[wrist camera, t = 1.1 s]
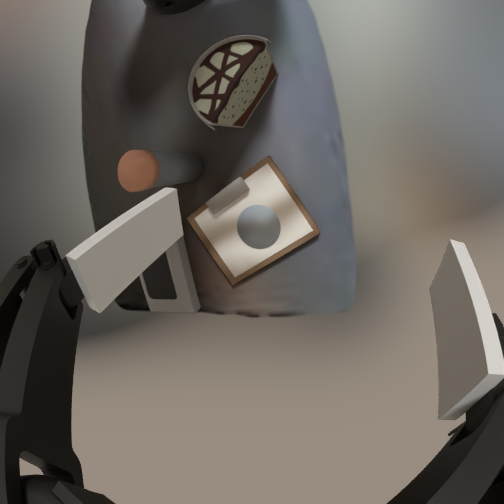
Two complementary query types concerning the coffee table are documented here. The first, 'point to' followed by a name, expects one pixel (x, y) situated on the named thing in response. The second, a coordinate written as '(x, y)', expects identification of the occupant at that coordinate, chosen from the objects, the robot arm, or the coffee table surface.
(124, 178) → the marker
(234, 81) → the food container
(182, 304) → the grey framed panel
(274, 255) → the clipboard
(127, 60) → the coffee table surface
